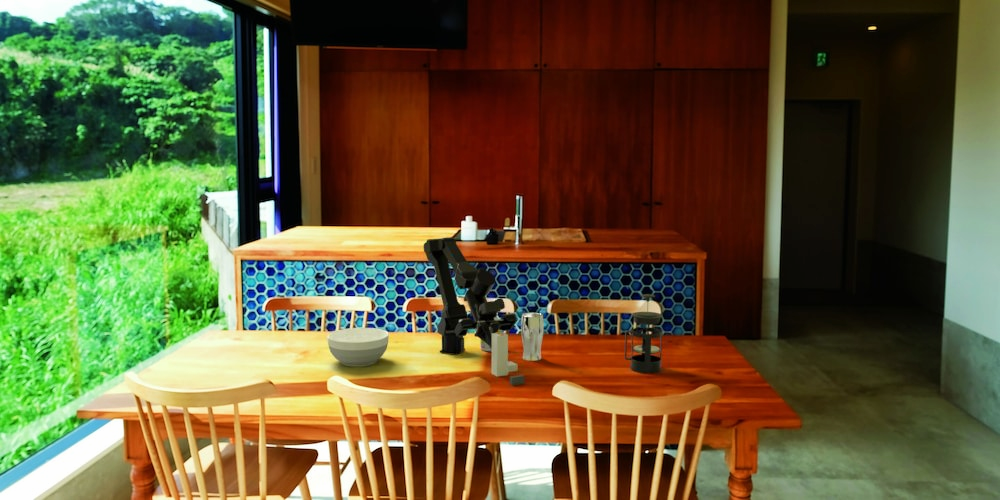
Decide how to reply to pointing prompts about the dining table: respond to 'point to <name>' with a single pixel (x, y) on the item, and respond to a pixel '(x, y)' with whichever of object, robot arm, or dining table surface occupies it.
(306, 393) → the dining table surface
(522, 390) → the dining table surface
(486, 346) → the supplement bottle
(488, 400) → the dining table surface
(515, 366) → the console board
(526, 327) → the beer glass
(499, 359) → the white rectangular block
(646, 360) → the french press
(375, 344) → the bowl
